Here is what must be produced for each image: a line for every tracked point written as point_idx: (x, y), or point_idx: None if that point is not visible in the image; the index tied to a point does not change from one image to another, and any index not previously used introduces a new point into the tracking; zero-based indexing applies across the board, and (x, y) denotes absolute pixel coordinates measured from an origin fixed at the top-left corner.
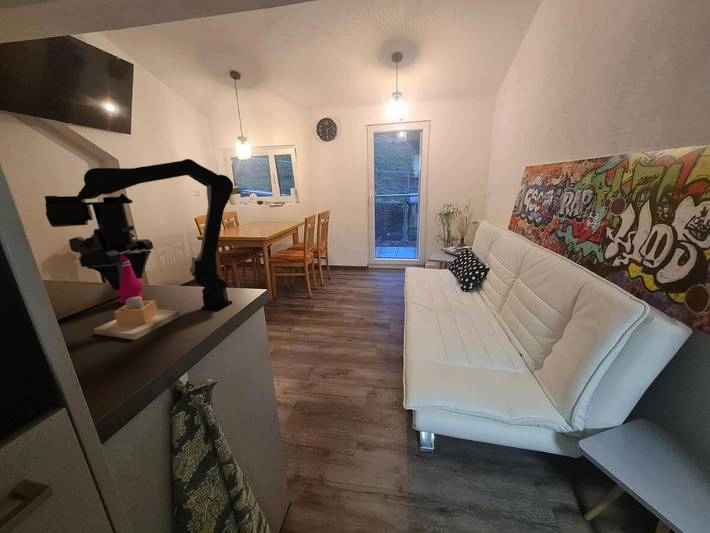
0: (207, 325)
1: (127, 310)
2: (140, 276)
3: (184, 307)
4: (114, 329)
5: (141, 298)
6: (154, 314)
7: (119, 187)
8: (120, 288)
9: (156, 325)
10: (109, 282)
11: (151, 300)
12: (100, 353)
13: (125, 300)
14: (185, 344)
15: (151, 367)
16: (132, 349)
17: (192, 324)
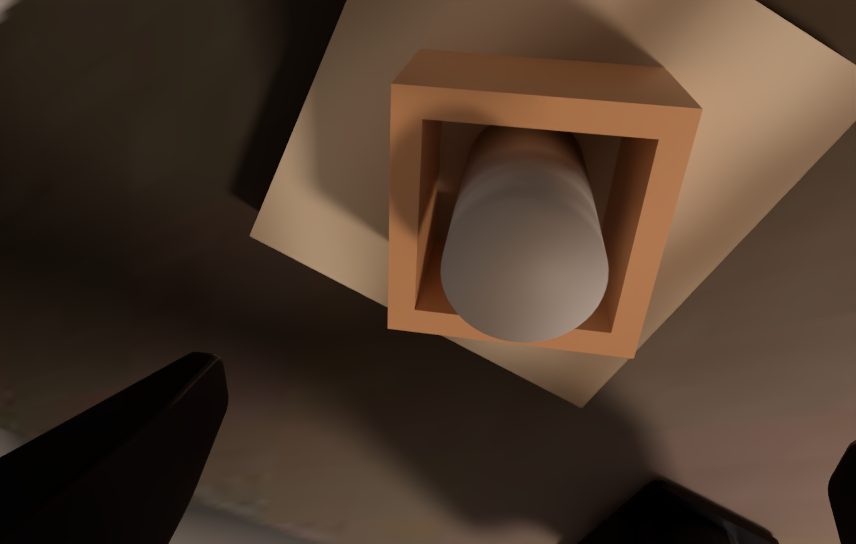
0: (378, 516)
1: (406, 205)
2: (838, 522)
3: (771, 376)
4: (359, 48)
5: (529, 337)
6: None
7: None
8: (213, 423)
9: None
10: (49, 446)
11: (640, 330)
12: (111, 77)
13: (494, 205)
14: None
15: (12, 381)
16: (154, 249)
17: (413, 458)
